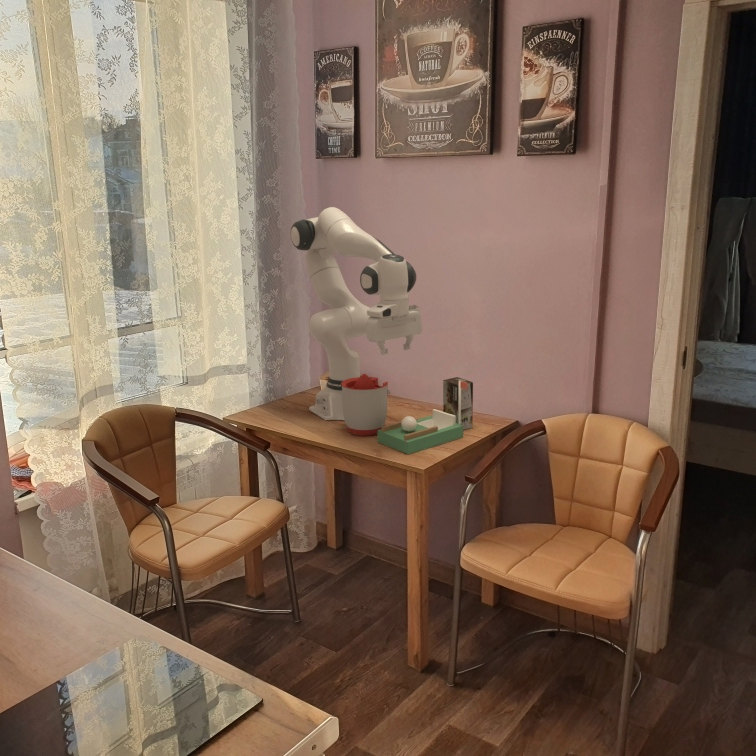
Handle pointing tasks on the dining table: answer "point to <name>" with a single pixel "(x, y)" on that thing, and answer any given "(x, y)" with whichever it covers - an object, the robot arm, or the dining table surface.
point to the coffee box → (453, 397)
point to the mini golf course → (424, 431)
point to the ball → (409, 423)
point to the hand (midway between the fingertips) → (395, 352)
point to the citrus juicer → (364, 405)
